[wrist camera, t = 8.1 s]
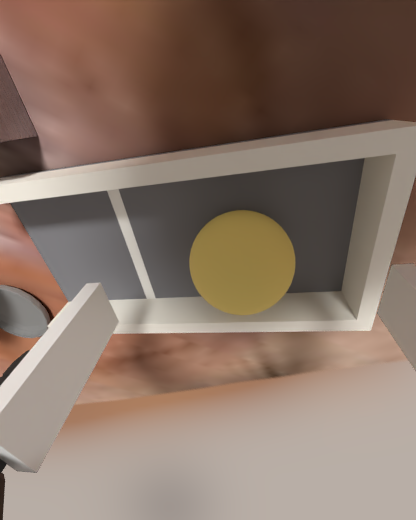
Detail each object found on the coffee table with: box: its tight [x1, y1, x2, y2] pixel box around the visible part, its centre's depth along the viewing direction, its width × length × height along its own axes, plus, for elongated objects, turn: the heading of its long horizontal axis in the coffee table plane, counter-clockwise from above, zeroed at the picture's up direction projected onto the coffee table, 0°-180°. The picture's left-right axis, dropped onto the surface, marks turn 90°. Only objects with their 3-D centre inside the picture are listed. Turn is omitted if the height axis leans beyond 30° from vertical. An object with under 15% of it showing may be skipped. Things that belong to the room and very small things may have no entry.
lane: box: [0, 119, 416, 334], centre depth 16 cm, size 24×12×4 cm, turn 99°
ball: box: [189, 210, 295, 315], centre depth 14 cm, size 6×6×6 cm
